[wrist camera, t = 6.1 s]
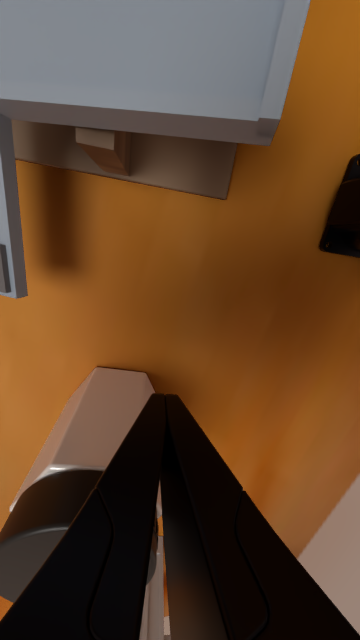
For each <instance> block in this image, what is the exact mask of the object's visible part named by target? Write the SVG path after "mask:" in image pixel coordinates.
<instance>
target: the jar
mask: <svg viewBox="0 0 360 640" xmlns="http://www.w3.org/2000/svg"><path fill="white" fill-rule="evenodd" d="M152 393H155V391H154V389H153V387H152V385H151V383H150V381H149V378H148V376H147V374H146V373H144V372H135V371H127V370H118V369H110V368H101V367H96V368H95V369H94V370H93V371H92V372H91V373H90V374H89V376H88V377H87V378H86V379H85V380H84V381H83V383H82V384H81V385H80V386H79V387H78V389H77V390H76V391H75V392H74V393H73V394H72V396H71V397H70V398H69V400H68V401H67V403H66V405H65V407H64V409H63V411H62V412H61V414H60V416H59V418H58V420H57V422H56V423H55V425H54V427H53V429H52V431H51V433H50V434H49V436H48V438H47V440H46V442H45V444H44V445H43V447H42V449H41V451H40V453H39V455H38V456H37V458H36V460H35V462H34V464H33V466H32V467H31V469H30V471H29V473H28V475H27V477H26V478H25V480H24V482H23V484H22V486H21V488H20V489H19V491H18V493H17V495H16V497H15V499H14V500H13V502H12V504H11V506H10V512H11V513H10V515H9V517H8V519H7V521H6V523H5V525H4V527H3V528H2V530H1V532H0V596H2V597H3V598H5V599H7V600H9V601H11V602H13V603H14V602H15V601H16V599H17V598H18V597H19V595H20V594H21V593H22V591H23V590H24V589H25V587H26V586H27V585H28V583H29V582H30V581H31V579H32V578H33V577H34V575H35V574H36V573H37V571H38V570H39V569H40V567H41V566H42V565H43V563H44V562H45V560H46V559H47V558H48V556H49V555H50V553H51V552H52V551H53V549H54V548H55V546H56V545H57V544H58V542H59V541H60V539H61V538H62V537H63V535H64V534H65V532H66V531H67V529H68V528H69V526H70V525H71V523H72V522H73V520H74V518H75V517H76V515H77V514H78V512H79V511H80V509H81V508H82V506H83V505H84V503H85V501H86V500H87V498H88V496H89V495H90V493H91V492H92V490H93V489H95V485H96V484H97V482H98V480H99V479H100V477H101V476H102V474H103V472H104V471H105V469H106V467H107V466H108V464H109V463H110V461H111V459H112V458H113V456H114V454H115V453H116V451H117V450H118V448H119V446H120V445H121V443H122V441H123V440H124V438H125V437H126V435H127V433H128V432H129V430H130V428H131V427H132V425H133V423H134V422H135V420H136V419H137V417H138V415H139V414H140V412H141V410H142V409H143V407H144V406H145V404H146V402H147V401H148V399H149V397H150V396H151V394H152ZM161 515H162V505H161V490H160V482H159V490H158V498H157V505H156V513H155V521H154V529H153V537H152V544H151V552H150V560H149V568H148V576H147V583H146V586H147V584H148V583H149V582H150V581H151V579H152V577H153V575H154V573H155V570H156V564H157V549H158V521H157V519H158V518H159V517H160V516H161Z"/></svg>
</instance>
